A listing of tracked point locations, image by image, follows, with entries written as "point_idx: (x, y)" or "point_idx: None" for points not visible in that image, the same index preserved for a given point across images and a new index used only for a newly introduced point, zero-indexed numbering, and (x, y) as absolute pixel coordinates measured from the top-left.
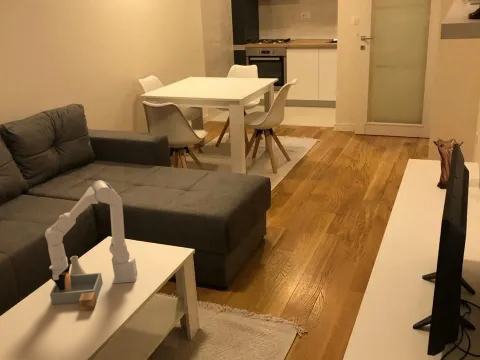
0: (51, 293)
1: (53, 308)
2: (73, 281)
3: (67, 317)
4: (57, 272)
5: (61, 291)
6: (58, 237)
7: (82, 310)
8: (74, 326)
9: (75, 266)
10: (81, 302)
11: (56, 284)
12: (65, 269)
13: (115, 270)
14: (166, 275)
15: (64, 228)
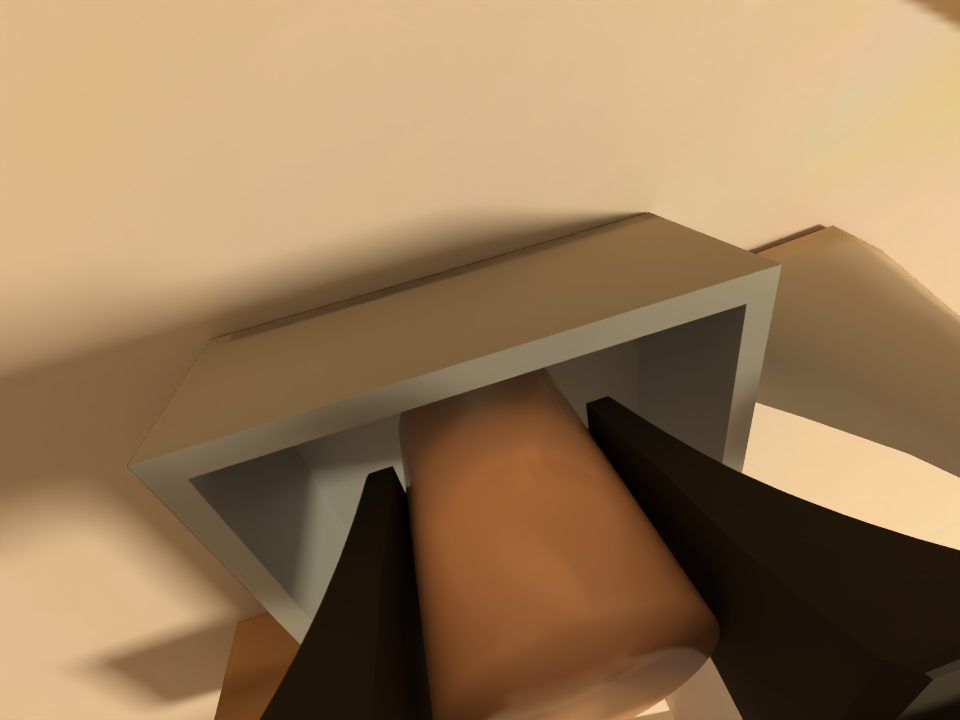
0: (167, 479)
1: (148, 397)
2: (665, 404)
3: (85, 598)
4: None
5: (402, 440)
6: None
7: (243, 634)
8: (6, 697)
9: (933, 449)
10: None
11: (325, 596)
12: (765, 708)
13: (704, 711)
14: (666, 710)
15: None
